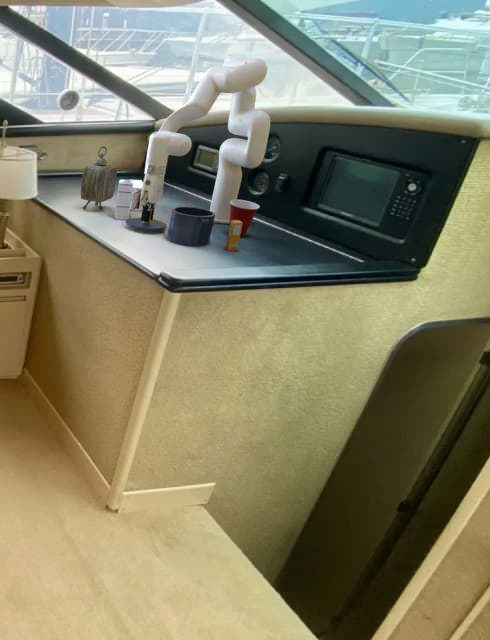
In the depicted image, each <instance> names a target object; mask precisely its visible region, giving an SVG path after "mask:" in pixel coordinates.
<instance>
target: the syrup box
mask: <svg viewBox="0 0 490 640" xmlns="http://www.w3.org/2000/svg"><path fill="white" fill-rule="evenodd" d="M132 180H133V179H131V180H129V179H119V181H118V185H117V194H116V200H115V201H116V202H115V210H114V219H116V220H122V221H126V220H127V219H130V212H131V210H130V207H131V200H132V191H133V182H134V181H132Z"/></svg>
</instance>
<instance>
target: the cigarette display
mask: <svg viewBox="0 0 490 640" xmlns="http://www.w3.org/2000/svg"><path fill="white" fill-rule="evenodd" d="M128 180H132V181H134V182H133V191H132V200H131V207H130V211H134V212H135V211H136V212H142V207H143V206H142V205H141V203H142V201H141V191H142V186H143V182H144V181H143V180H142V179H128Z"/></svg>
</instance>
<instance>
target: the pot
mask: <svg viewBox="0 0 490 640" xmlns="http://www.w3.org/2000/svg"><path fill="white" fill-rule="evenodd" d="M214 218H215V213H214V212H212V211H210V209H206V208H201V207H195V206H176V207H173V208H172V209H171V214H170V219H169V225H168V229H167V235H166V238H167V241H169V242H171V243H173V244H176V245H180V246H185V247H205V246H208V245H209V244H210V240H211V235H212V232H213V231H212V230H213V227H214V223H215V222H214Z"/></svg>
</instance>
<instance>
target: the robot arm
mask: <svg viewBox="0 0 490 640" xmlns="http://www.w3.org/2000/svg"><path fill="white" fill-rule="evenodd" d="M267 74H268V64H267V63H266V61H264V60H263V59H261V58H249V57H248V58H247V57H232V58H228V59H226V60H225V61H224V62H223V64H222V65H213V66H210V67H209V68H207V69H206V71H205V73H204V74H203V76H202V78H201V79H200V81H199V82H198V84H197V85H196V86H195V89H194V90H193V91H192V93H191V95H190V97H189V98H188V100H187V101H186V102H185V103H184V104H182V105H181V106H180V107H179V108H177V109H176V110H175V111H173V112H172V113H170V115H168V116H167V118H166V119H165V120H164V121H163V122H162V124H161V126H160V127H159V128H158V131H157V132H156V133H155V132H154V133H152V134H151V135H150V136H149V140H148V146H147V150H146V151H147V152H146V159H145V165H144V171H143V174H144V177H143V181H142V182H143V186H142V191H141V201H142V203H141V205H142V210H141V215H140V218H141V221H145V222H149V219H150V220H153V219H154V215H155V210H156V205H157V203H158V202H160V201H162V198H163V191H164V184H165V175H166V172H167V171H166V170H167V165H168V159H169V156H175V157H183V156H185V155H187V154H188V153H189V152H190V151H191V148H192V143H193V142H192V140H191V138H190V137H189V136H188V135H187V134H184V133H180V132H179V133H178V131H179V129H181V128H182V127H183V126H185V125H186V124H188V123H190V122H194V121H197V120H199V119H201V118H204V117H206V116H207V115H208V114H209V112H210V111H211V110H212V107H213V106H214V104H215V103H216V101H217V99H218V98H219V96H220V95H221V94H222V93H223V94H231V103H230V109H229V115H228V122H227V130H228V132H229V133H231V134H233V135H236V136H241V137H245V138H247V139H242V138H239V137H238V138H237V137H231V138H227V139H226V140H224V141H223V142H222V144H221V145H220V147H219V151H218V169H217V174H216V179H215V182H214V186H213V193H212V196H211V201H210V207H209V210H210V211H212V212H214V213H215V218H214V222H213V223H217V224H229V223H230V201H231V200H238V195H239V191H240V187H241V184H242V180H243V179H242V178H243V171H242V168H247V169H255V168H258V167H259V166H260V165H261V164H262V162H263V160H264V158H265V155H266V150H267V145H268V141H269V140H268V139H269V135H270V130H271V118H270V115H269V114H268V113H267V112H266V111H264V110H262V109H261V110H260V109H255V107H256V99H257V88H256V87H257V86H258V85H260V84H261V83H262V82H264V80H265V78H266V76H267ZM150 208H152V213H151V211H150ZM150 213H151V218H150Z"/></svg>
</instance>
